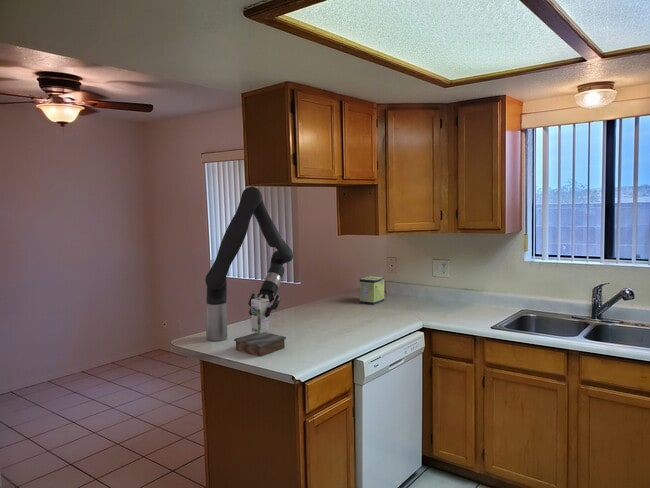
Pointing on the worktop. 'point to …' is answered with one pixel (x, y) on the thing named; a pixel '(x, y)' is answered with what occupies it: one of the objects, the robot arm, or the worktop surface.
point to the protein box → (371, 290)
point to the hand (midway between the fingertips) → (258, 315)
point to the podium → (260, 343)
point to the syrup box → (259, 315)
